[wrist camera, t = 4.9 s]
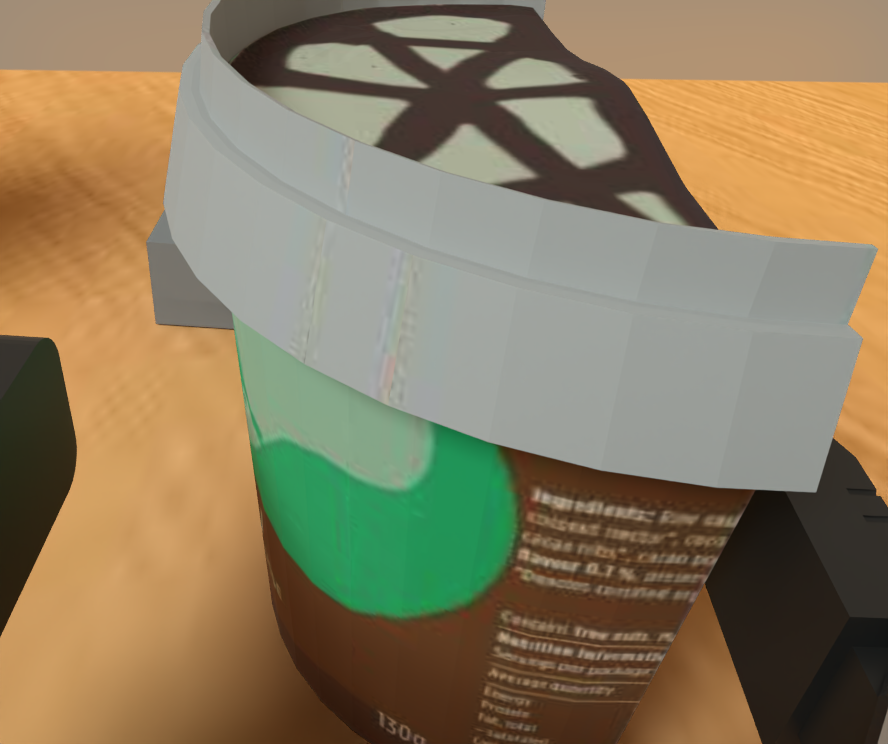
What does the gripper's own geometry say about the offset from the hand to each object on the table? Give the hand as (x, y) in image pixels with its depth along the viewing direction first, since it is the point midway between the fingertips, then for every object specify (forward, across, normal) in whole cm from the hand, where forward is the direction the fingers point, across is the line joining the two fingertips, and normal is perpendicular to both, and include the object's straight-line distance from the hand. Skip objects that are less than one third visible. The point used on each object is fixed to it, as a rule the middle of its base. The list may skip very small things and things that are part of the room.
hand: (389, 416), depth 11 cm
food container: (+3, 0, +6) cm, 7 cm away
